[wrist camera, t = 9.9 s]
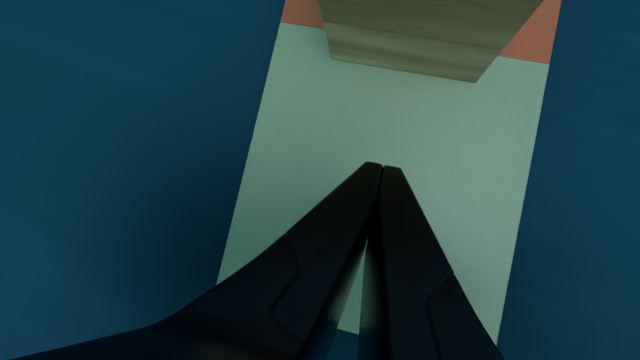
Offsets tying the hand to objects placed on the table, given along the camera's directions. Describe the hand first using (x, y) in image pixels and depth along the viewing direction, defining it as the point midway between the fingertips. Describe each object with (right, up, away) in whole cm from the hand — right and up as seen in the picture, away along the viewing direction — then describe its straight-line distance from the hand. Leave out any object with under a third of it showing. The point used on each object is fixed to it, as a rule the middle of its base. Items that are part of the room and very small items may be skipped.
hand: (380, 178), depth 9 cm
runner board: (+1, 0, +9) cm, 9 cm away
